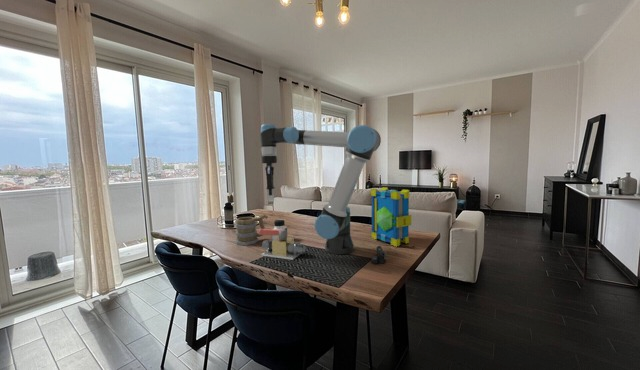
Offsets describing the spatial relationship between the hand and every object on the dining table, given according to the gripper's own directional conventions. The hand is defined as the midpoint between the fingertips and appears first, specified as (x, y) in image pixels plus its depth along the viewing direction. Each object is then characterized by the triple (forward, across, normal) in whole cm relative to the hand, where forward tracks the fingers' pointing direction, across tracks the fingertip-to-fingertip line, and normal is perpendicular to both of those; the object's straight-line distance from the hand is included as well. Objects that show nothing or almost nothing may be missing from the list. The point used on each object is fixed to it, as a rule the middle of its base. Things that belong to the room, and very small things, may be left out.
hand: (271, 201), depth 139 cm
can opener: (+27, +18, +52) cm, 61 cm away
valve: (+26, +4, +6) cm, 27 cm away
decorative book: (+27, -7, +65) cm, 71 cm away
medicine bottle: (+27, -21, +2) cm, 34 cm away
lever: (+19, +2, 0) cm, 19 cm away
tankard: (+27, -21, -14) cm, 37 cm away
